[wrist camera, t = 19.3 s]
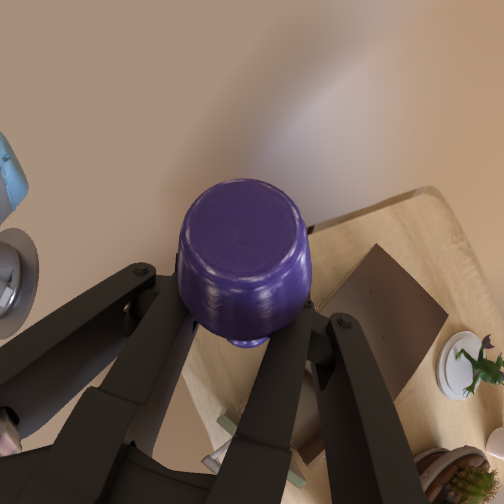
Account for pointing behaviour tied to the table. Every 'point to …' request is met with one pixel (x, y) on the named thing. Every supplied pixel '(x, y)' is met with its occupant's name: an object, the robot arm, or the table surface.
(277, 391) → the robot arm
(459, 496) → the flowerpot
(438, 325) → the cabinet
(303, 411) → the drawer
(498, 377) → the monster figurine
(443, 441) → the table surface
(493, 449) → the dixie cup
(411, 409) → the table surface
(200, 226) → the toy lamp
